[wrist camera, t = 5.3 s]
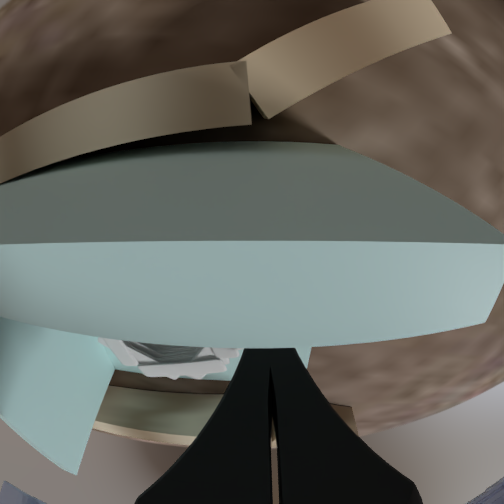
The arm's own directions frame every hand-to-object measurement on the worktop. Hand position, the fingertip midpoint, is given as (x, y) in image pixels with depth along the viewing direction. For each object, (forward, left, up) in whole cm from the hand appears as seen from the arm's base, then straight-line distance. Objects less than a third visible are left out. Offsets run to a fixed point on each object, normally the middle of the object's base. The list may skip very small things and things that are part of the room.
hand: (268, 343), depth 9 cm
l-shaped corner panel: (+3, -2, -3) cm, 5 cm away
